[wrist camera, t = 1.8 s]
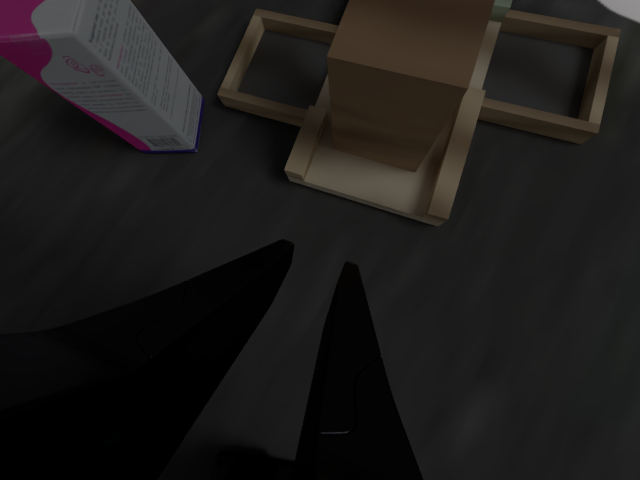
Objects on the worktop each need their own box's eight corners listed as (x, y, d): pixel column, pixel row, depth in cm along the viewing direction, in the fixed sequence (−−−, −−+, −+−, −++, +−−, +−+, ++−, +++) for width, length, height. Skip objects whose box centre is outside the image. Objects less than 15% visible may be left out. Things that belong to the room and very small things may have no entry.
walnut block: (415, 172, 21) (468, 88, 12) (333, 149, 22) (326, 56, 13) (439, 98, 22) (504, -31, 13) (359, 79, 23) (369, -52, 14)
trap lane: (553, 262, 20) (605, 256, 16) (203, 154, 24) (175, 128, 20) (609, 16, 23) (664, -41, 19) (290, -40, 27) (280, -95, 23)
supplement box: (206, 97, 25) (94, -55, 14) (198, 153, 24) (72, 38, 13) (150, 99, 26) (1, -46, 14) (141, 154, 25) (-28, 44, 13)
